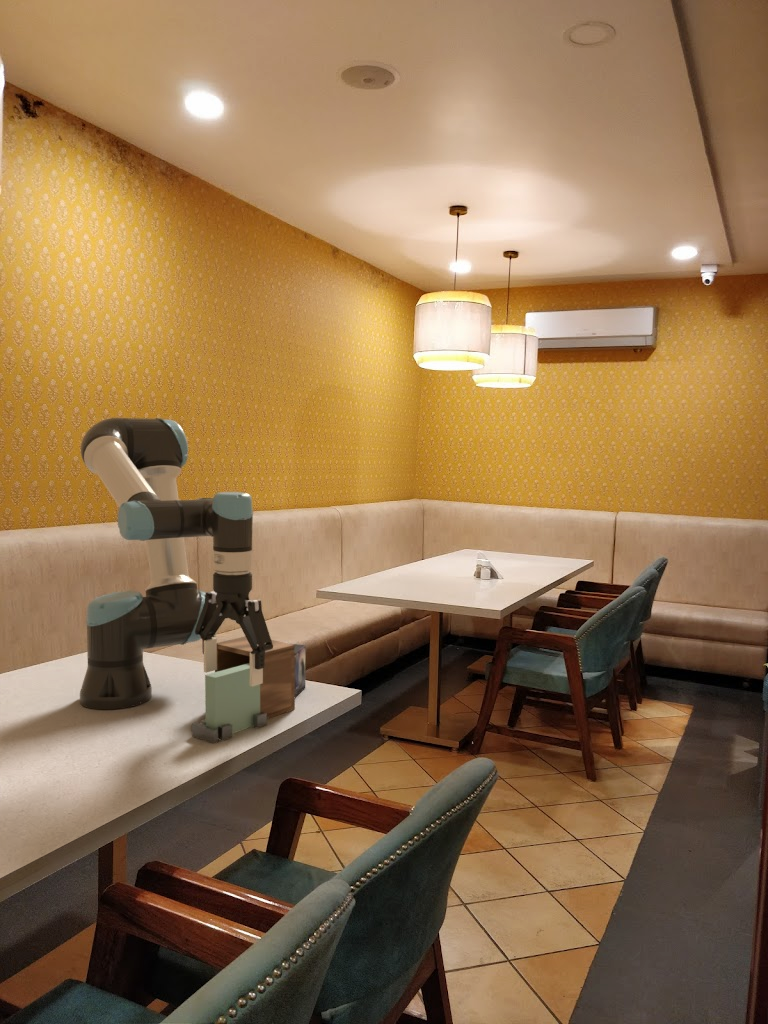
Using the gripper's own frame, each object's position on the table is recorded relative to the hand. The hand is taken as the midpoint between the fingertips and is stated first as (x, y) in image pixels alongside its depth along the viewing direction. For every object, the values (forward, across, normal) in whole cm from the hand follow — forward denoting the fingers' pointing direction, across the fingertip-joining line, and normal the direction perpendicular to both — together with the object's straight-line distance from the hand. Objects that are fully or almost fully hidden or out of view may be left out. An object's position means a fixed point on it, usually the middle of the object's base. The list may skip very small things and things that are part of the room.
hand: (232, 677), depth 161 cm
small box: (+11, -8, +23) cm, 27 cm away
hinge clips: (+10, +1, -1) cm, 10 cm away
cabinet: (+10, -6, +11) cm, 16 cm away
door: (+10, +1, 0) cm, 10 cm away
